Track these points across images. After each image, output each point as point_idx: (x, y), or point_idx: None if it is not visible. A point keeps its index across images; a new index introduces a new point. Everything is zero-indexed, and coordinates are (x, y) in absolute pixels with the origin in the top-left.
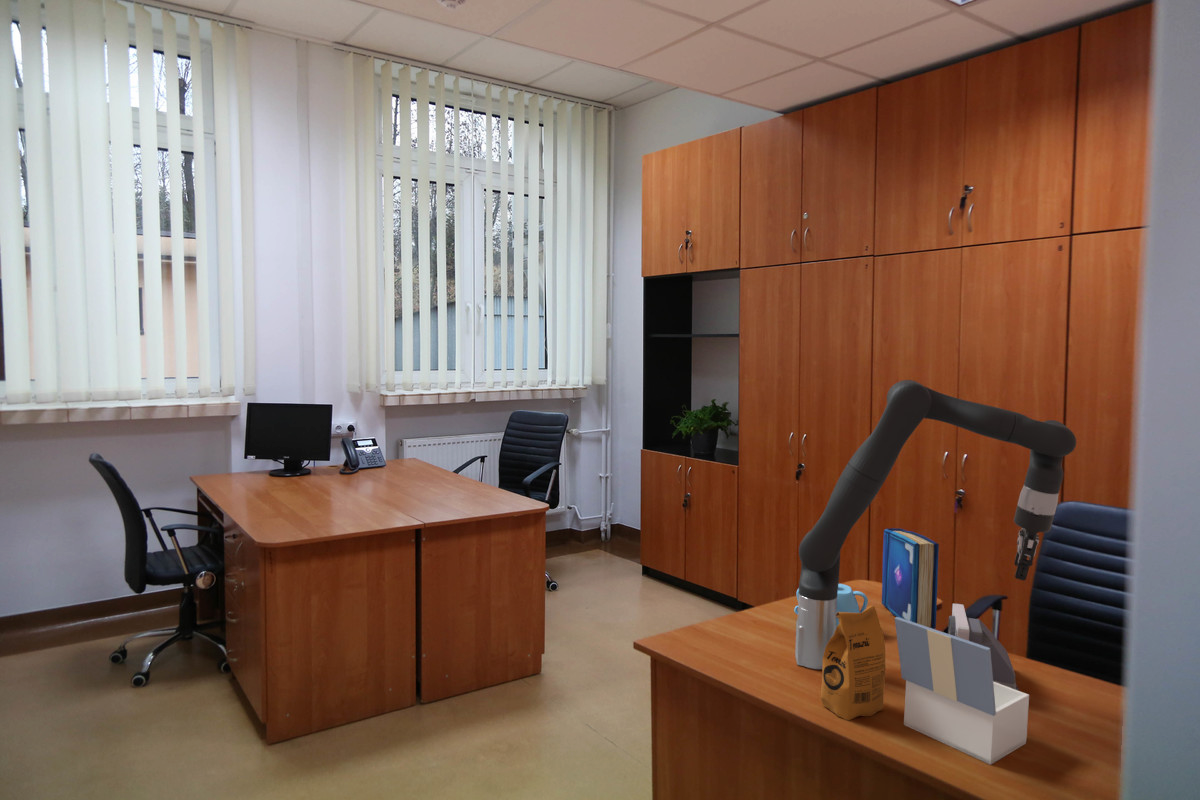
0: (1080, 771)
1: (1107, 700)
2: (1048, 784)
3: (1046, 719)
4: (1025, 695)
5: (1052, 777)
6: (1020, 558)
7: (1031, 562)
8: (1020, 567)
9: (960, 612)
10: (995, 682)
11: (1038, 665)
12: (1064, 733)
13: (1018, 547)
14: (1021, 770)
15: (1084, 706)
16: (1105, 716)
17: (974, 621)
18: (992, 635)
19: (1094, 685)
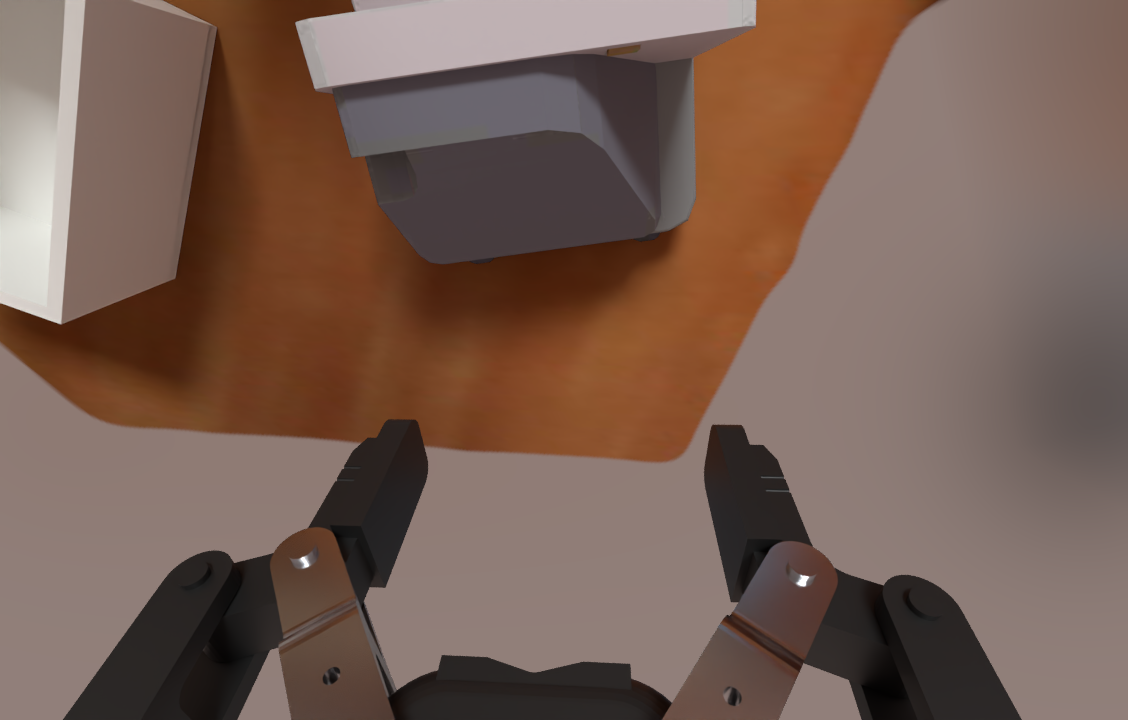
0: (132, 381)
1: (577, 448)
2: (3, 322)
3: (363, 323)
4: (42, 314)
5: (46, 330)
6: (139, 615)
7: (203, 662)
8: (317, 517)
9: (577, 18)
10: (68, 219)
11: (746, 310)
12: (309, 359)
13: (338, 673)
14: None
15: (508, 403)
16: (475, 439)
17: (502, 109)
18: (594, 191)
19: (661, 429)
